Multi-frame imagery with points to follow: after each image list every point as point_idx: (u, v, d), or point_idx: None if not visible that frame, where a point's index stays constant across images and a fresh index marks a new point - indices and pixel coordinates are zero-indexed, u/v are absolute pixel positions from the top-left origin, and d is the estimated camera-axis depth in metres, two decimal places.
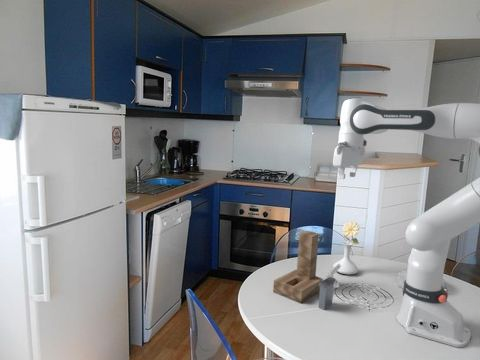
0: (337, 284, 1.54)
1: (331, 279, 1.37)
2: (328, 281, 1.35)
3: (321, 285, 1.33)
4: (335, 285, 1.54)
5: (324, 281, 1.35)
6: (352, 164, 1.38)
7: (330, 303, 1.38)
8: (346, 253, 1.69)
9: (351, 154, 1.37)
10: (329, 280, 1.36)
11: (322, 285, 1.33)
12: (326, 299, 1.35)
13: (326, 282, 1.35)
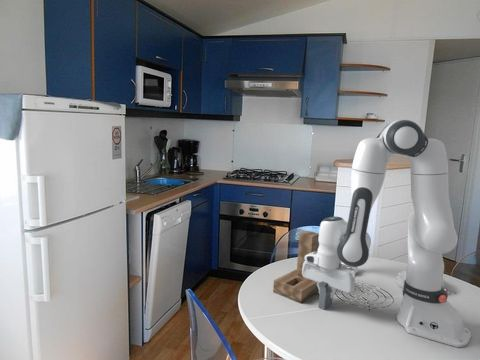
0: None
1: None
2: None
3: (321, 285, 1.33)
4: None
5: None
6: None
7: (330, 303, 1.38)
8: None
9: None
10: None
11: (322, 285, 1.33)
12: (326, 299, 1.35)
13: None
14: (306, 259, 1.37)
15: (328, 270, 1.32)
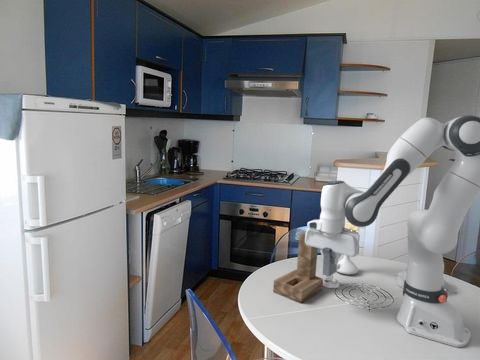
0: (337, 284, 1.54)
1: None
2: None
3: (325, 251, 1.31)
4: (335, 285, 1.54)
5: None
6: None
7: (334, 270, 1.36)
8: None
9: None
10: None
11: (326, 250, 1.31)
12: (330, 265, 1.33)
13: (330, 248, 1.32)
14: (309, 226, 1.35)
15: (331, 235, 1.30)
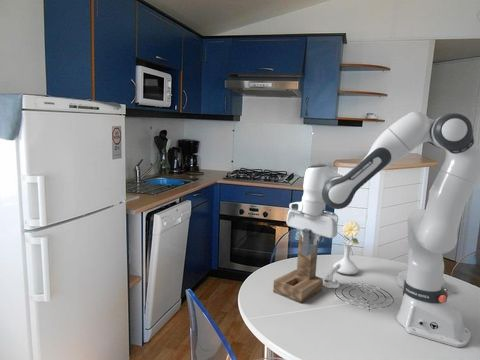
0: (337, 284, 1.54)
1: None
2: None
3: (304, 231, 1.36)
4: (335, 285, 1.54)
5: None
6: None
7: (313, 251, 1.40)
8: (346, 253, 1.69)
9: None
10: None
11: (305, 231, 1.35)
12: (309, 246, 1.37)
13: (309, 229, 1.37)
14: (291, 207, 1.40)
15: (311, 216, 1.35)
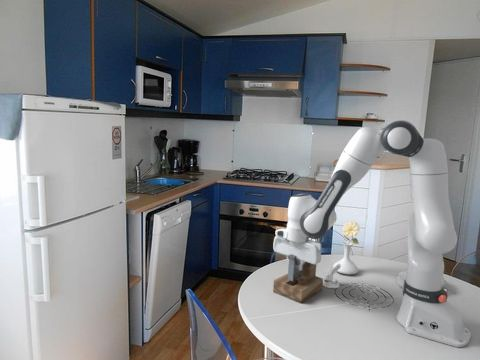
0: (337, 284, 1.54)
1: None
2: None
3: (290, 258, 1.41)
4: (335, 285, 1.54)
5: None
6: None
7: (299, 275, 1.46)
8: (346, 253, 1.69)
9: None
10: None
11: (290, 257, 1.41)
12: (295, 271, 1.43)
13: None
14: (276, 234, 1.46)
15: (296, 243, 1.40)
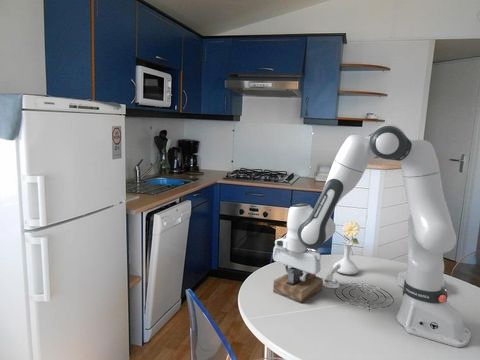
0: (337, 284, 1.54)
1: None
2: None
3: (289, 271, 1.42)
4: (335, 285, 1.54)
5: (292, 267, 1.44)
6: None
7: None
8: (346, 253, 1.69)
9: None
10: None
11: (290, 271, 1.42)
12: (294, 284, 1.44)
13: (294, 268, 1.43)
14: (276, 243, 1.46)
15: (296, 253, 1.41)
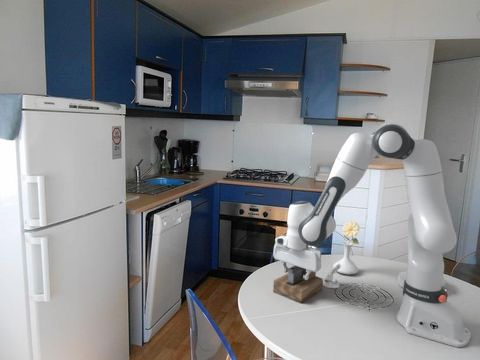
0: (337, 284, 1.54)
1: None
2: (296, 267, 1.44)
3: (289, 271, 1.42)
4: (335, 285, 1.54)
5: (292, 267, 1.44)
6: None
7: None
8: (346, 253, 1.69)
9: None
10: (297, 267, 1.45)
11: (290, 271, 1.42)
12: (294, 284, 1.44)
13: (294, 268, 1.43)
14: (276, 241, 1.46)
15: (296, 251, 1.41)
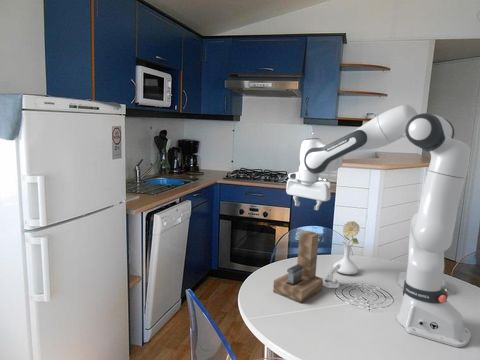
0: (337, 284, 1.54)
1: (299, 266, 1.46)
2: (296, 267, 1.44)
3: (289, 271, 1.42)
4: (335, 285, 1.54)
5: (292, 267, 1.44)
6: None
7: None
8: (346, 253, 1.69)
9: None
10: (297, 267, 1.45)
11: (290, 271, 1.42)
12: (294, 284, 1.44)
13: (294, 268, 1.43)
14: (289, 177, 1.60)
15: (308, 183, 1.54)
